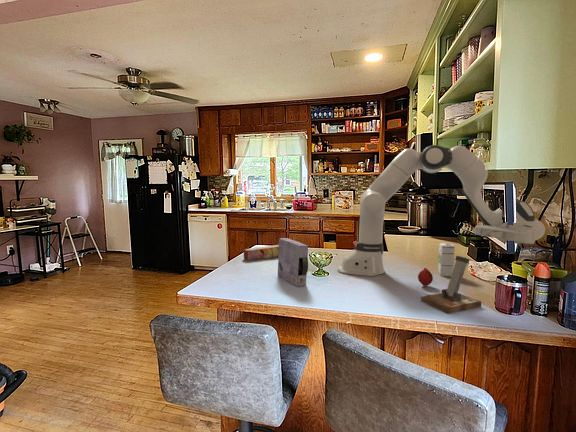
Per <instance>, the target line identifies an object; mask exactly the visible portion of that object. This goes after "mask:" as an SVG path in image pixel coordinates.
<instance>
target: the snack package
mask: <svg viewBox="0 0 576 432" xmlns="http://www.w3.org/2000/svg"><path fill="white" fill-rule="evenodd" d="M278 254H279V244H275V245H267V246H260V247H252V248H245V249H243V259H244V260H245V261H249V262H250V261H255V260H264V259H271V258H278Z"/></svg>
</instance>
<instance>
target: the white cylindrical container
mask: <svg viewBox="0 0 576 432" xmlns="http://www.w3.org/2000/svg"><path fill="white" fill-rule="evenodd" d="M455 247H456V246H455V245H454V244H453V243H445V242H444V243H443V242H442V243H439V246H438V248H439V249H438V263H437V264H438V265H437V266H438V267H437V269H438V270H437V273H438V274H439V275H440V276H441V277H451V276H452V273H453V270H454V266H455V250H456V249H455Z"/></svg>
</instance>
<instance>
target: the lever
mask: <svg viewBox="0 0 576 432" xmlns="http://www.w3.org/2000/svg"><path fill="white" fill-rule="evenodd" d="M454 261H455V262H454V270H453V273H452V276H450V279H449V282H448V286H447V288H446V289H447V291H446V296H447V297H449V298H452V299H453V298H454V294H457V293H459V290H460V287H461V283H462V279H463V277H464V274H465V270H466V268H467V265H468V264H469V262H470V258H466V257H464V256H459V255H456V256H455V258H454Z"/></svg>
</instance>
